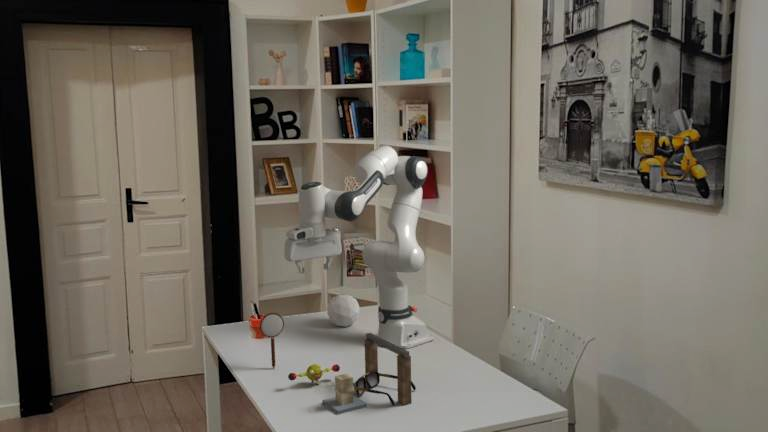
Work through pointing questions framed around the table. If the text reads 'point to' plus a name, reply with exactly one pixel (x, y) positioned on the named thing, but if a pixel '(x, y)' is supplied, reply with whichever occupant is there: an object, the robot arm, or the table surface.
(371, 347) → the rod stand
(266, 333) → the magnifying glass
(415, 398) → the table surface
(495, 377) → the table surface
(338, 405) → the pad
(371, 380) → the sunglasses
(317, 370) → the toy figure
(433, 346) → the table surface
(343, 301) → the geodesic sphere
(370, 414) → the table surface
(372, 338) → the rod
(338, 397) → the block
